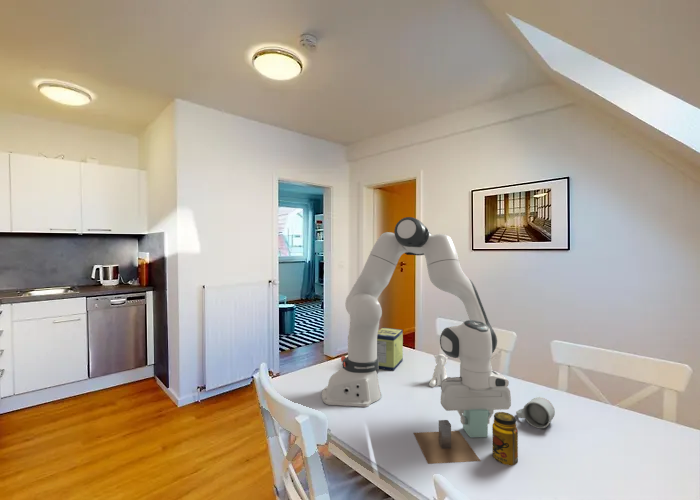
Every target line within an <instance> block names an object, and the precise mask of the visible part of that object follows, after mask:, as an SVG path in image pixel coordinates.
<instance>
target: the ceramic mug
mask: <svg viewBox="0 0 700 500" xmlns="http://www.w3.org/2000/svg"><path fill="white" fill-rule="evenodd" d="M515 414H516V416H517V418H519V419H525V421H526V422H527V423H528V424H529V425H530V426H532V427H533V428H536V429H545V428H547V427H548V426H550V424H551V422H552V421H553V419H554V417H555V414H556V412H555V407H554V405H553V404H552V402H551V401H550V400H548V399H547V398H544V397H541V396H539V397H537V396H536V397H535V398H532V399H531V400H530V401H528V402H527V403H525V405H524V406H523V408H520V409H518V410H517V411H515Z"/></svg>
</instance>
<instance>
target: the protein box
mask: <svg viewBox="0 0 700 500" xmlns="http://www.w3.org/2000/svg"><path fill="white" fill-rule="evenodd" d="M403 331H404V330H403V329H401V328H400V329H399V328H390V327H382V328H380V329H378V334H377V358H378V364H379V369H380V370H385V371H386V370H387V371H392V372H394V371H395V370H396V369H397V368H398V367H399V366H400V364H401V363H402V362H403V355H404V354H403V352H404V351H403V347H404V346H403V345H404V344H403V343H404V338H403V337H404V336H403V335H404V333H403ZM379 369H378V370H379Z"/></svg>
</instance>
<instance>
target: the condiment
mask: <svg viewBox="0 0 700 500" xmlns="http://www.w3.org/2000/svg"><path fill="white" fill-rule="evenodd" d="M493 414H494V415H493V423H492V425H491V426H492V429H491V430H492V447H491V448H492V457H493V459H494V460H495V461H496V462H498V463H500V464H502V465H505V466H515V465H517V464H518V462H519V445H518V444H519V443H518V442H519V440H518V439H519V437H518V436H519V431H518V427H517V419H516V417H515V416H514V415H513V414H511V413H509V412H504V411H498V412H495V413H493Z"/></svg>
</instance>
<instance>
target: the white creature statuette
mask: <svg viewBox="0 0 700 500" xmlns="http://www.w3.org/2000/svg"><path fill="white" fill-rule="evenodd" d="M445 355H446V354H445ZM445 355H444V354H443V353H440V354H437V355H436V354H433V357H434V358H435V359H434V360H435V363H436V365H435V367H434V369H433V370H434V372H433V374H432V378H431V379H430V381H429V384H428V385H429V386H430V387H431V388H434V387H441V382H442V381H443V380H444V379H446V378H447V377H448V374H447V368H446V367H445V366H446V364H447V363H448V362H447V361H448V358H449V356H445ZM445 381H446V380H445Z"/></svg>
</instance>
